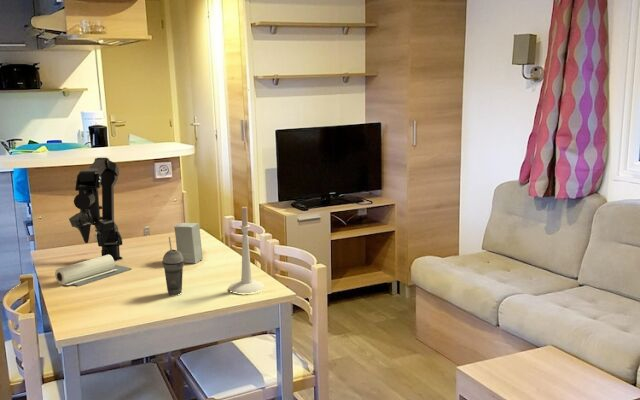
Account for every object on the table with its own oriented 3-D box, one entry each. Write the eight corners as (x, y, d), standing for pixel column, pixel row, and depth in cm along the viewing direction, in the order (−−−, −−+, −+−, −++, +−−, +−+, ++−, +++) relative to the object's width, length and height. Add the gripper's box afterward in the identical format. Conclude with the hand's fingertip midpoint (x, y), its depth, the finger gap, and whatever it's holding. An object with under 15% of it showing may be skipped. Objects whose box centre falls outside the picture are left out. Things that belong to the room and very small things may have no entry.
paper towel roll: (104, 256, 234) (52, 271, 218) (111, 252, 231) (59, 266, 214) (110, 273, 234) (59, 289, 217) (118, 269, 230) (66, 285, 213)
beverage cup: (174, 298, 201) (171, 241, 197) (159, 294, 205) (156, 238, 201) (190, 292, 207) (187, 236, 203) (175, 288, 211) (172, 234, 207)
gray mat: (113, 265, 240) (113, 264, 240) (131, 269, 234) (131, 268, 234) (59, 281, 220) (59, 280, 220) (78, 286, 214) (77, 285, 214)
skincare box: (203, 260, 246) (201, 222, 243) (194, 264, 240) (192, 226, 237) (185, 258, 249) (183, 221, 246) (175, 263, 242) (173, 225, 239)
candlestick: (224, 285, 214) (221, 203, 208) (259, 281, 218) (257, 201, 213) (233, 297, 202) (230, 210, 197) (269, 292, 207) (267, 207, 201)
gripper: (56, 205, 220) (60, 246, 223) (88, 210, 210) (91, 253, 213) (82, 200, 229) (85, 239, 232) (114, 205, 219) (117, 246, 222)
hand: (94, 244), depth 225 cm, fingers open, 9 cm apart
